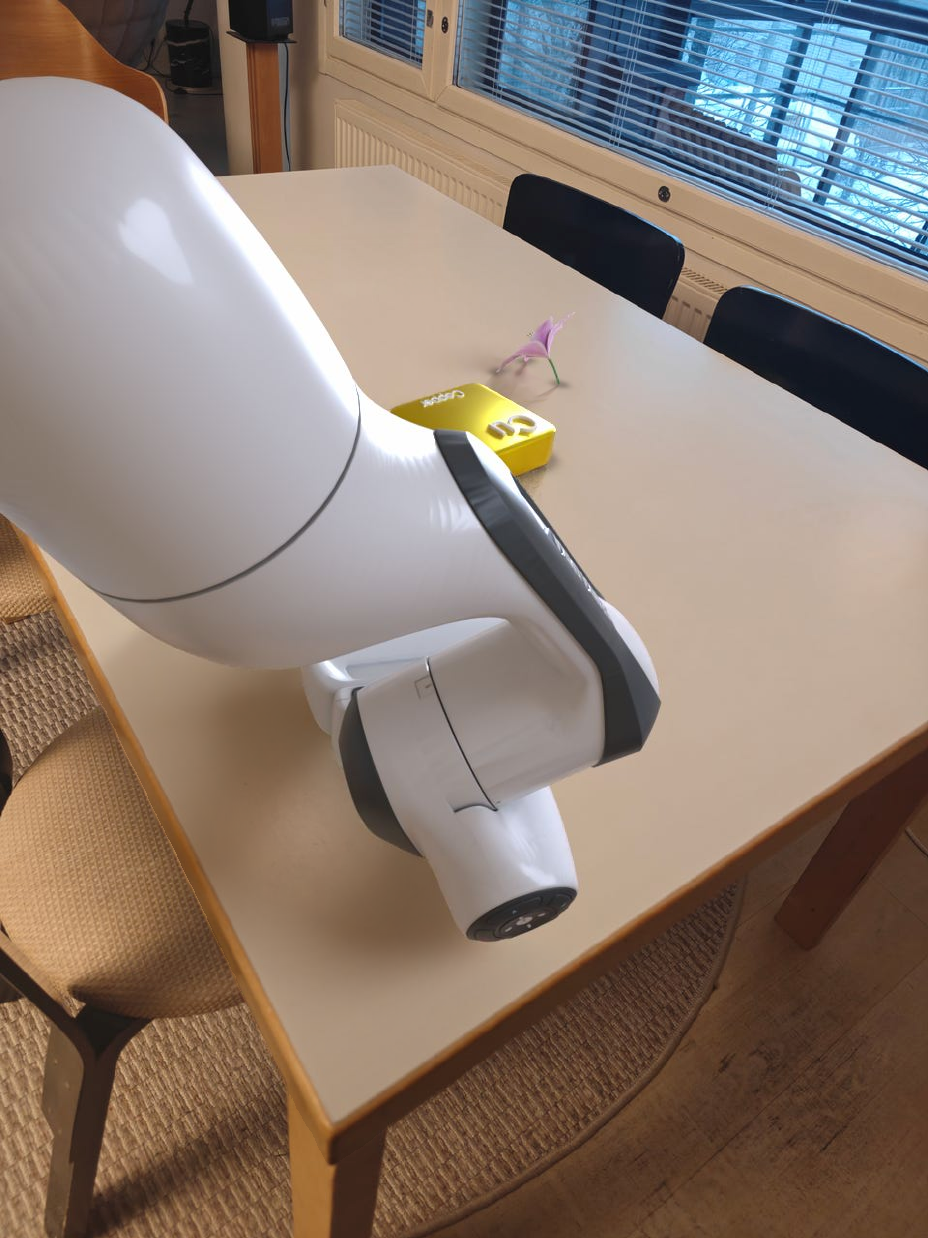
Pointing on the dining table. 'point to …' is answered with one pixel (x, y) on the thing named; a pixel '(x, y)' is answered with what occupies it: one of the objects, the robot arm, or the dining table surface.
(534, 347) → the lily
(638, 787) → the dining table surface
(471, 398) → the element tile
